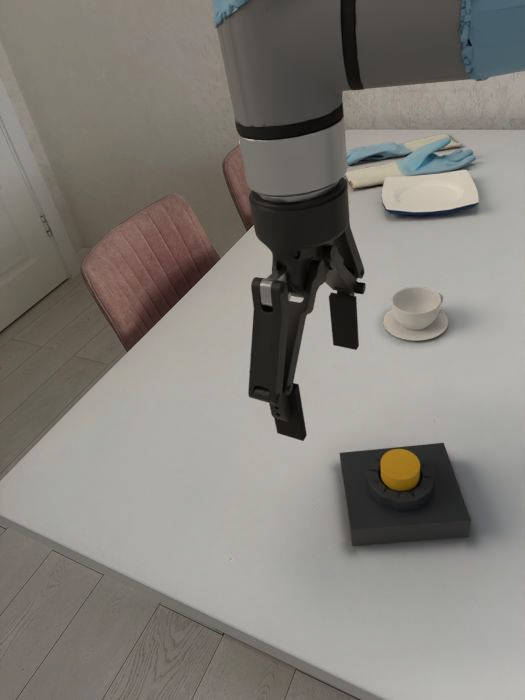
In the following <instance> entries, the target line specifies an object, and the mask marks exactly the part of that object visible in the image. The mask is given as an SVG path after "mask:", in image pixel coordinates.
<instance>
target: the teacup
mask: <svg viewBox="0 0 525 700" xmlns="http://www.w3.org/2000/svg"><path fill="white" fill-rule="evenodd" d="M390 301H391V302H390V303H391V309H389V310H388V311H387V312H386V313H385V315H384V316H383V320H382V322H383V323H382V324H383V326H384V328H385V330H386V331H387V332H388V333H389V334H390V335H392V336H393V337H396V338H399V339H402V340H407V341H425V340H426V341H427V340H430V339H433V338H436V337H438V336H441V335H442V334H443V333H444V332H445V331H446V330H447V328H448V326H449V318H448V315H447V314H446V313H445V312H444V311H443V310H442V309H441V305H442V304H443V302H444V295H443V294H442V293H440V292H437V291H436V290H434V289H432V288H429V287H425V286H408V287H404V288H401V289H399V290H397V291H396V292H395V293H393V295H392V297H391V300H390Z"/></svg>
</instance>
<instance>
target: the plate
mask: <svg viewBox="0 0 525 700" xmlns="http://www.w3.org/2000/svg"><path fill="white" fill-rule="evenodd" d="M381 190H382V191H381V202H382V205H383V207H384V209H385V211H386V212H387V213H388V214H392V215H407V216H432V215H433V216H434V215H440V214H448V213H455V212H459V211H463V210H468V209H473V208H474V207H476V206H478V205H479V204H480V203H479V192H478V188H477V186H476V184H475V181H474V180H473V178H472V176H471V174H470V173H469V171H468V169H461V170H452V171H448V172H442V173H438V174H430V175H419V176H399V177H385V181H384V184H382V189H381Z"/></svg>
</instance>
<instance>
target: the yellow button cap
mask: <svg viewBox="0 0 525 700" xmlns="http://www.w3.org/2000/svg"><path fill="white" fill-rule="evenodd" d="M381 478H382V481H383V482H384V484H385V485H386V486H387V487H389V488H390V489H393V490H395V491H408V490H411V489H413V488H414V487H415V486H416V485H417V484H418V482H419V478H420V462H419V459H418V458H417V456H416V455H415V454H413V453H412V452H410V451H408V450H404V449H393V450H390V451H388V452H387V453H385V454H384V455H383V457H382V459H381Z"/></svg>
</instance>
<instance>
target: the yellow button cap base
mask: <svg viewBox="0 0 525 700" xmlns="http://www.w3.org/2000/svg"><path fill="white" fill-rule="evenodd" d="M393 449H404V450H408V451H410V452H412V453H413V454H415V455H416V456H417V458H418V459H419V462H420V478H419V482H418V484H417V485H416V486H415V487H414V488H413V489H411V490H408V491H395V490H393V489H390V488H389V487H387V486H386V485H385V484H384V482H383V481H382V478H381V459H382V457H383V455H384V454H385V453H387V452H388V451H390V450H393ZM339 462H340V471H341V479H342V486H343V493H344V499H345V500H344V501H345V507H346V514H347V521H348V528H349V536H350V542H351V546H352V547H355V546H368V545H381V544H382V545H383V544H395V543H407V542H420V541H432V540H447V539H459V538H468V537H469V534H470V530H471V529H470V527H471V523H472V519H471V516H470V513H469V510H468V507H467V505H466V504H467V503H466V501H465V499H464V496H463V493H462V490H461V487H460V484H459V482H458V479H457V477H456V474H455V470H454V468H453V465H452V462H451V459H450V456H449V454H448V450H447V448H446V445H445V443H444V442H437V443H426V444H417V445H416V444H415V445H405V446H394V447H383V448H375V449H367V450H366V449H364V450H355V451H344V452H339Z"/></svg>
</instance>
